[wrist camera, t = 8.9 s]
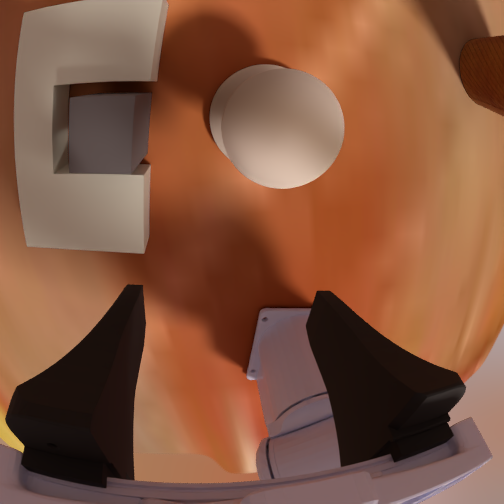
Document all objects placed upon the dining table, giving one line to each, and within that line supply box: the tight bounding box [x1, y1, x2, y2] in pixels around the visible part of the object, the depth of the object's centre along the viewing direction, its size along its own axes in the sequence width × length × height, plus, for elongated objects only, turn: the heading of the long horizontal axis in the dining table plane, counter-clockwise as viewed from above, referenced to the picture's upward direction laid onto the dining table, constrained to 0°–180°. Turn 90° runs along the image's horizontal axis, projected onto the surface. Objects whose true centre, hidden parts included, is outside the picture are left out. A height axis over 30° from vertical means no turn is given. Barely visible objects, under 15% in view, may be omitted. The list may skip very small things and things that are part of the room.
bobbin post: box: [210, 64, 344, 189], centre depth 17 cm, size 7×7×6 cm
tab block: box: [69, 92, 152, 174], centre depth 16 cm, size 4×4×5 cm
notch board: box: [14, 0, 169, 254], centre depth 16 cm, size 16×9×2 cm, turn 172°
